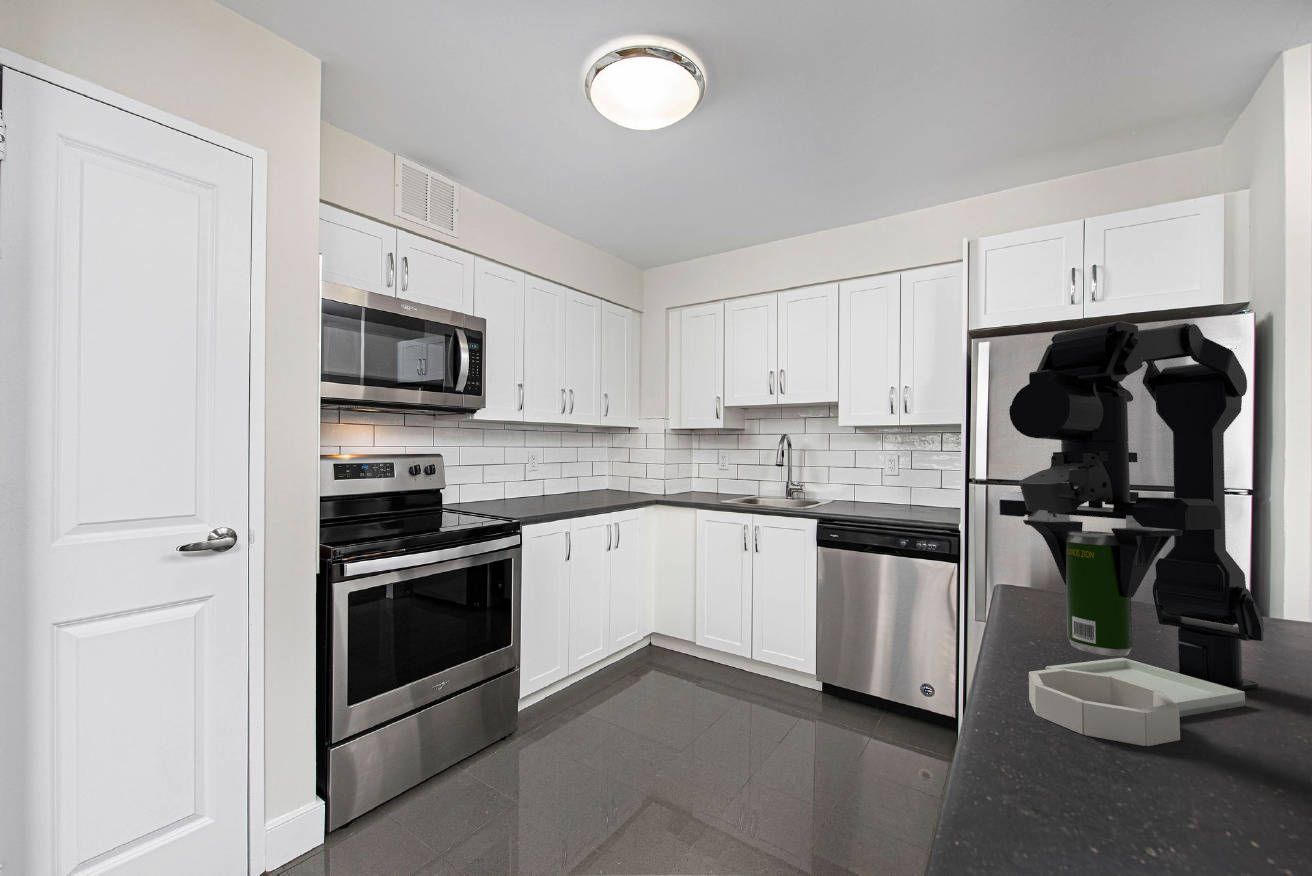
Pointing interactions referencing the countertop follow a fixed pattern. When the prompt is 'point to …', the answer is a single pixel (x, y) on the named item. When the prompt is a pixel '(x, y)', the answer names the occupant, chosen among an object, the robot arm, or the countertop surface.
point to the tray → (1167, 684)
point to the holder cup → (1104, 706)
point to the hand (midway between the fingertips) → (1097, 591)
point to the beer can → (1096, 595)
